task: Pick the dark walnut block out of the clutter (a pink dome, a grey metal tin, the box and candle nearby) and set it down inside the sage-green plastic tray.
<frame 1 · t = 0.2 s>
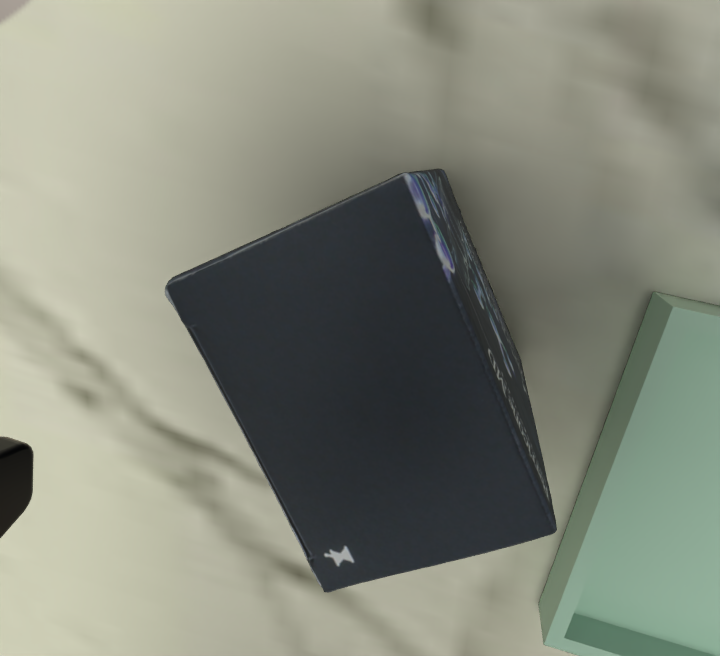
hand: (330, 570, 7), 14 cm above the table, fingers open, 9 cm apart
box: (415, 292, 21), on the table
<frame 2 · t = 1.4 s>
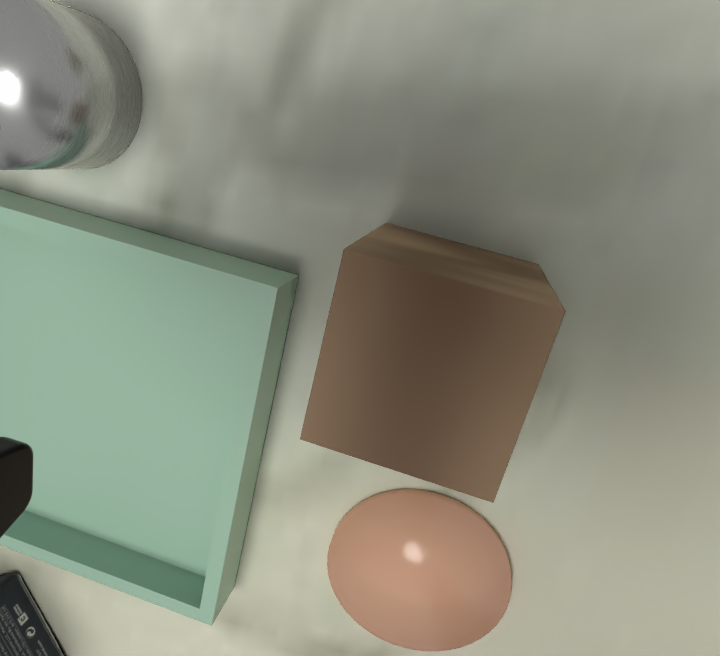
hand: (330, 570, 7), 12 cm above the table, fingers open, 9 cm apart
pink dome: (418, 562, 22), on the table
tray: (100, 393, 22), on the table
grey tin: (77, 93, 19), on the table
walnut block: (439, 315, 19), on the table
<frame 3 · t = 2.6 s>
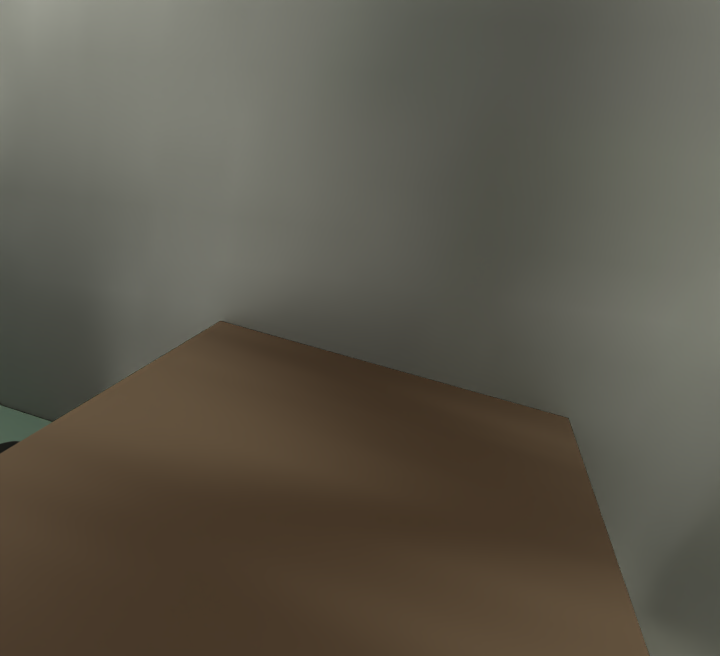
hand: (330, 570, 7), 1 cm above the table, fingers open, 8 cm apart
walnut block: (351, 513, 9), on the table
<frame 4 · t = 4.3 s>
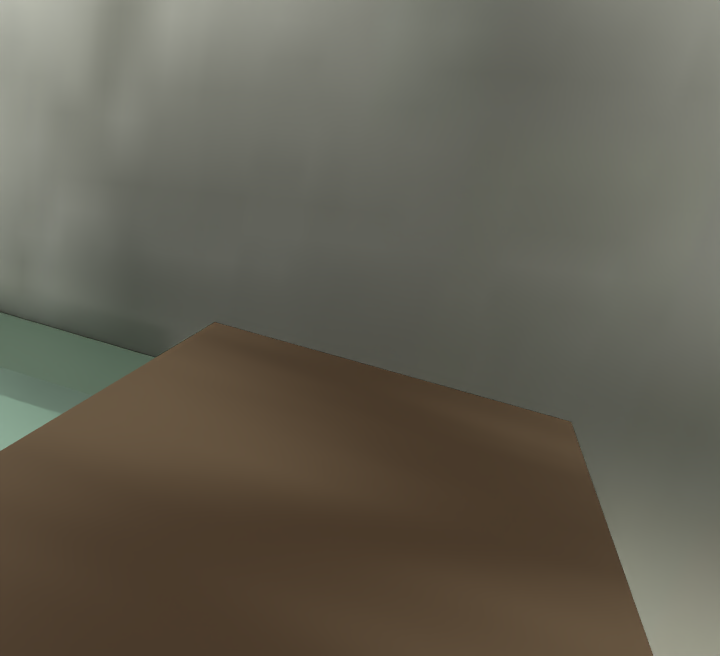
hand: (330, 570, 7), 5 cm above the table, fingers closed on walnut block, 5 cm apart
walnut block: (348, 519, 8), point 3 cm above the table, touching gripper
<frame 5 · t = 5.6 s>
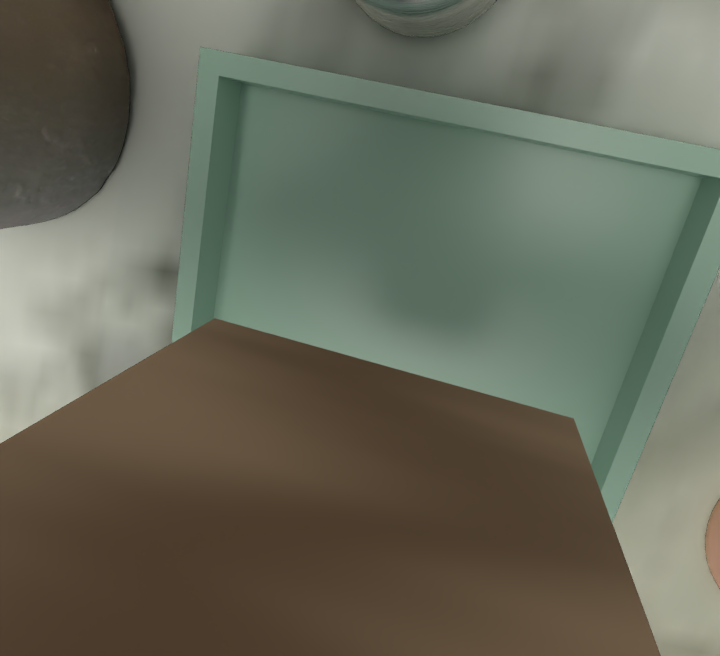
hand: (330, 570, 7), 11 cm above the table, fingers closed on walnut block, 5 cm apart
pillar candle: (6, 82, 18), on the table
tray: (409, 336, 18), on the table
walnut block: (348, 517, 8), point 10 cm above the table, touching gripper
when the fingers open (3 cm above the table, at t = 7.9 s): walnut block drops 1 cm, resting on tray.
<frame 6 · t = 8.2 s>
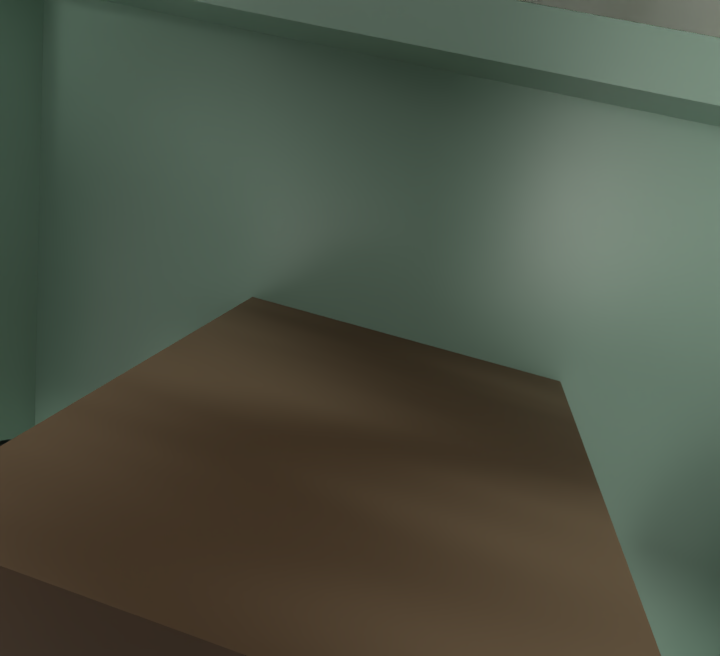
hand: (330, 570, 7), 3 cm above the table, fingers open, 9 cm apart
tray: (370, 455, 10), on the table
walnut block: (366, 471, 10), point 1 cm above the table, touching tray
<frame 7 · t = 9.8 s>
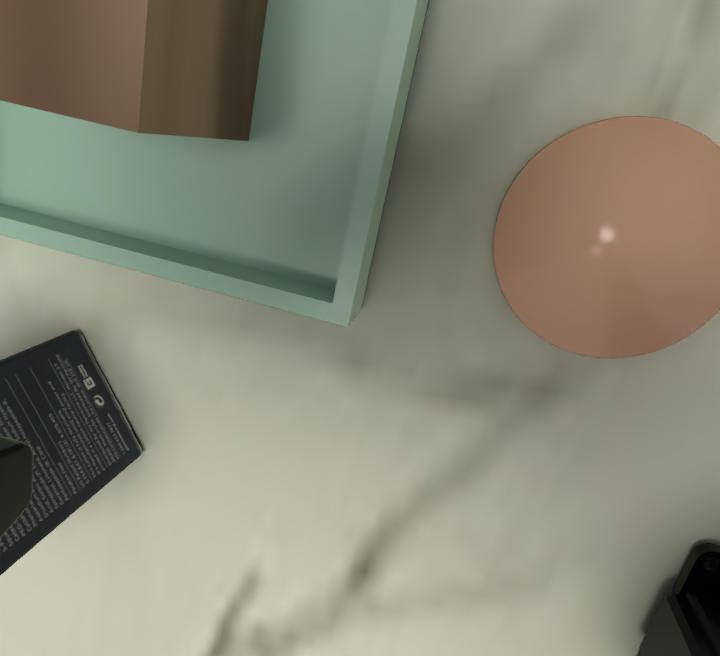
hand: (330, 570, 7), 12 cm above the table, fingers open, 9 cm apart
pink dome: (611, 240, 17), on the table
tray: (190, 42, 17), on the table
walnut block: (182, 37, 17), point 1 cm above the table, touching tray
box: (45, 415, 23), on the table
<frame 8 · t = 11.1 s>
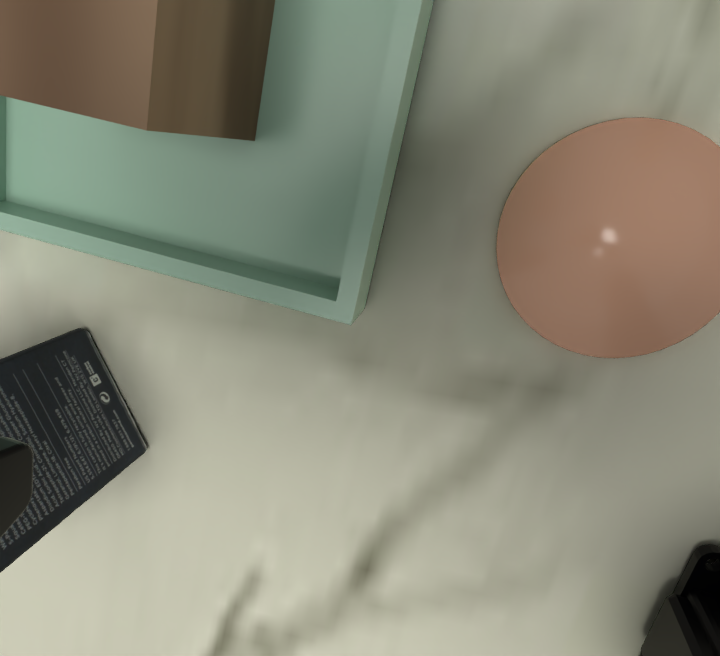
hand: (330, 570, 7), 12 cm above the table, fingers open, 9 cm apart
pink dome: (613, 241, 17), on the table
tray: (198, 43, 17), on the table
walnut block: (190, 38, 17), point 1 cm above the table, touching tray
box: (51, 412, 23), on the table
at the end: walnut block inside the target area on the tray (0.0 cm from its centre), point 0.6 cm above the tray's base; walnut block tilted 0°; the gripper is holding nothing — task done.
